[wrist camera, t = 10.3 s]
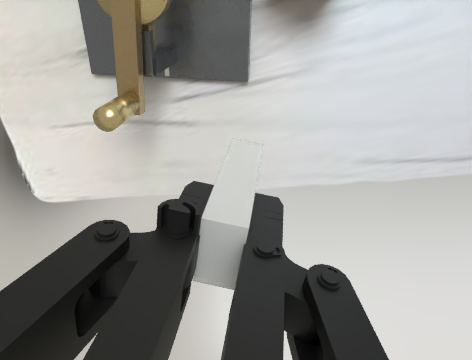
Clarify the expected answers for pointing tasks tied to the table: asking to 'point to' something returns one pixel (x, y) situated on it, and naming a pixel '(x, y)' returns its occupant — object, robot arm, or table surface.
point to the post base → (180, 40)
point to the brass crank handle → (128, 57)
